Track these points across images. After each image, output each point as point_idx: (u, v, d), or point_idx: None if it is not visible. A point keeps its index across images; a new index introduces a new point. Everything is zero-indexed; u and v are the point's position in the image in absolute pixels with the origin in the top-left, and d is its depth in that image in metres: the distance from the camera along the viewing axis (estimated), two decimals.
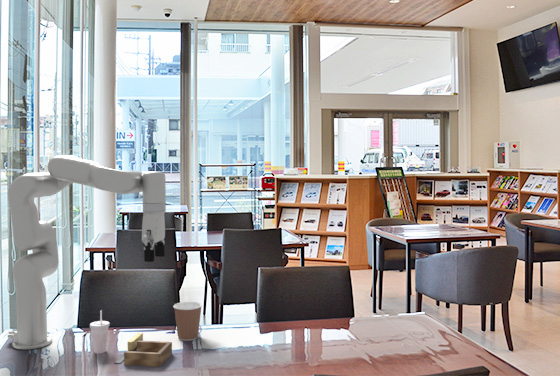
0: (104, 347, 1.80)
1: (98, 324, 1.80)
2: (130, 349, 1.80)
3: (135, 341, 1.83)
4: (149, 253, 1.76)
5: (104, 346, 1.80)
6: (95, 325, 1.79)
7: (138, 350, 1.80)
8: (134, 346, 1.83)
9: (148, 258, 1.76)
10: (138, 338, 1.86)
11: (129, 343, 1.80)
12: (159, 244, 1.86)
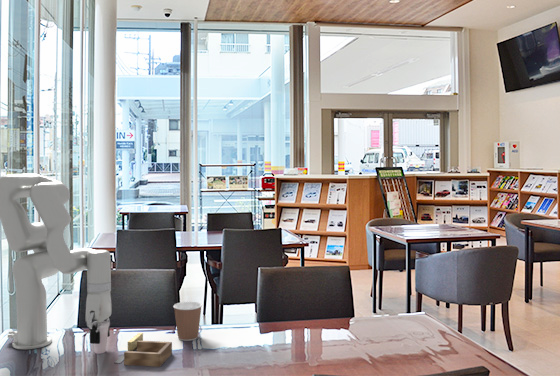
0: (104, 347, 1.80)
1: None
2: (130, 349, 1.80)
3: (135, 341, 1.83)
4: (94, 335, 1.77)
5: (104, 346, 1.80)
6: (95, 325, 1.79)
7: (138, 350, 1.80)
8: (134, 346, 1.83)
9: (93, 340, 1.77)
10: (138, 338, 1.86)
11: (129, 343, 1.80)
12: None
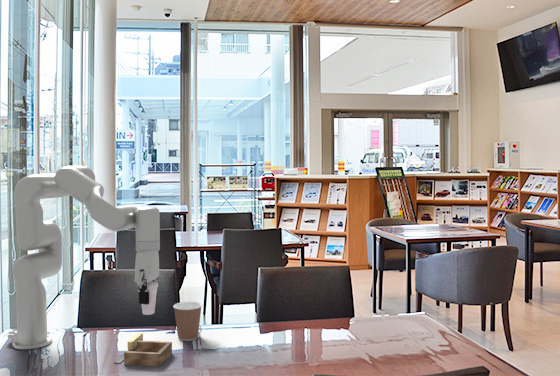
0: (153, 309, 1.73)
1: None
2: (130, 349, 1.80)
3: (135, 341, 1.83)
4: (144, 295, 1.69)
5: (153, 307, 1.73)
6: None
7: (138, 350, 1.80)
8: (134, 346, 1.83)
9: (143, 301, 1.69)
10: (138, 338, 1.86)
11: (129, 343, 1.80)
12: None
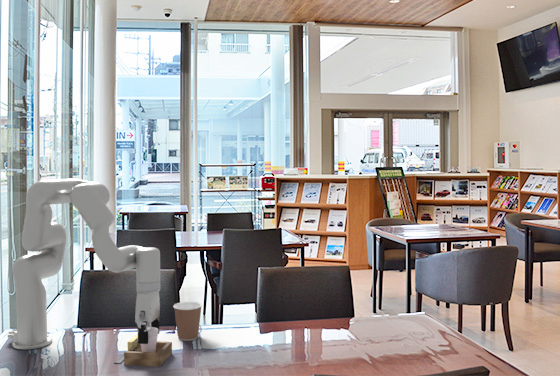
0: None
1: None
2: (130, 349, 1.80)
3: (135, 341, 1.83)
4: (143, 335, 1.68)
5: None
6: None
7: (138, 350, 1.80)
8: (134, 346, 1.83)
9: (142, 340, 1.68)
10: None
11: (129, 343, 1.80)
12: (154, 321, 1.78)
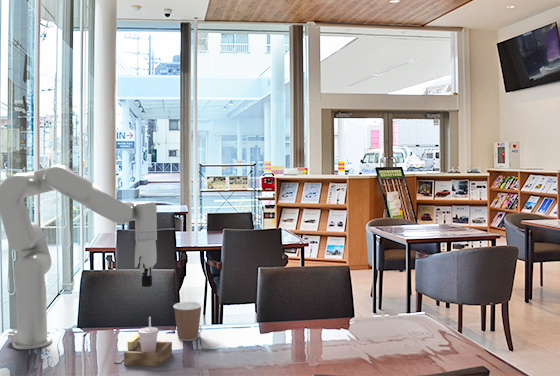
0: None
1: (147, 331, 1.72)
2: (130, 349, 1.80)
3: (135, 341, 1.83)
4: (146, 279, 1.93)
5: None
6: (144, 332, 1.72)
7: (138, 350, 1.80)
8: (134, 346, 1.83)
9: (145, 283, 1.94)
10: (138, 338, 1.86)
11: (129, 343, 1.80)
12: None
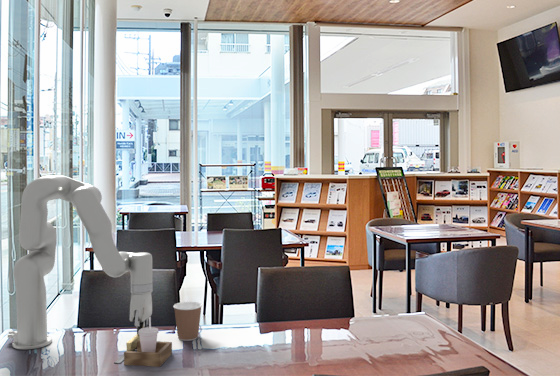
0: None
1: (147, 331, 1.73)
2: (129, 350, 1.80)
3: (134, 342, 1.83)
4: None
5: None
6: (144, 332, 1.72)
7: (138, 350, 1.80)
8: (133, 347, 1.82)
9: None
10: (137, 339, 1.85)
11: (128, 344, 1.80)
12: None
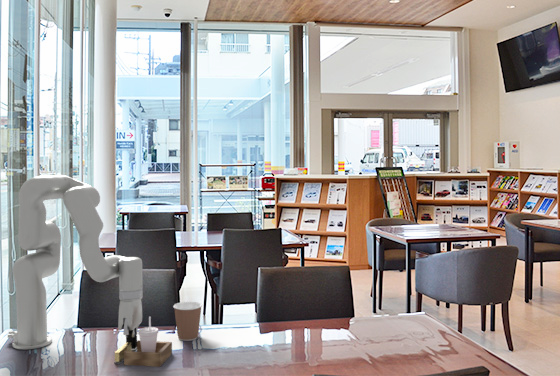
0: None
1: (147, 331, 1.73)
2: (117, 360, 1.71)
3: (123, 351, 1.73)
4: (131, 341, 1.81)
5: None
6: (144, 332, 1.72)
7: (138, 350, 1.80)
8: (122, 357, 1.73)
9: None
10: (126, 348, 1.76)
11: (116, 354, 1.71)
12: None
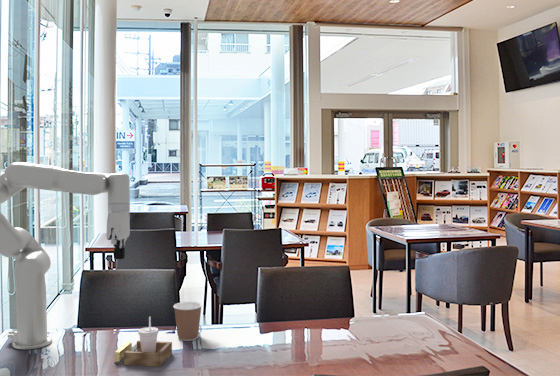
0: None
1: (147, 331, 1.73)
2: (117, 360, 1.71)
3: (123, 351, 1.74)
4: (118, 251, 1.92)
5: None
6: (144, 332, 1.72)
7: (138, 350, 1.80)
8: (122, 356, 1.73)
9: (117, 256, 1.92)
10: (126, 348, 1.76)
11: (116, 353, 1.71)
12: None
